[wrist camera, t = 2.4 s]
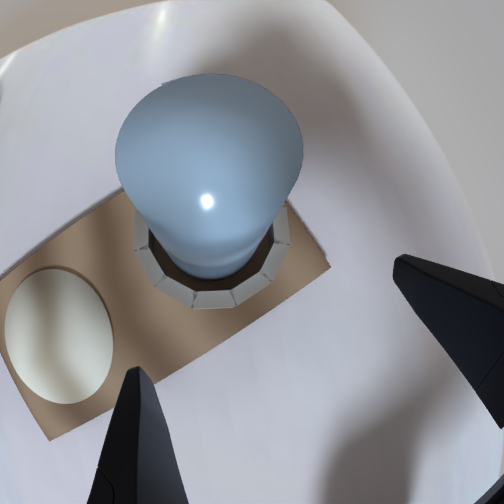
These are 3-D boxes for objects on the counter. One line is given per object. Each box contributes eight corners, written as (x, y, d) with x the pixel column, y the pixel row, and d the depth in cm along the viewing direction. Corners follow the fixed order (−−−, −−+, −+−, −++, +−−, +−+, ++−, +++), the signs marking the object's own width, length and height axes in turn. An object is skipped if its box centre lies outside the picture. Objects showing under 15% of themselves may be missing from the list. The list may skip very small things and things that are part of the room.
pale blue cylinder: (270, 261, 21) (335, 193, 10) (183, 295, 20) (142, 263, 9) (226, 157, 23) (240, 32, 11) (146, 184, 22) (97, 70, 10)
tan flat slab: (232, 137, 24) (235, 116, 21) (326, 269, 23) (342, 262, 20) (-14, 300, 19) (-34, 296, 16) (54, 437, 17) (37, 449, 14)
